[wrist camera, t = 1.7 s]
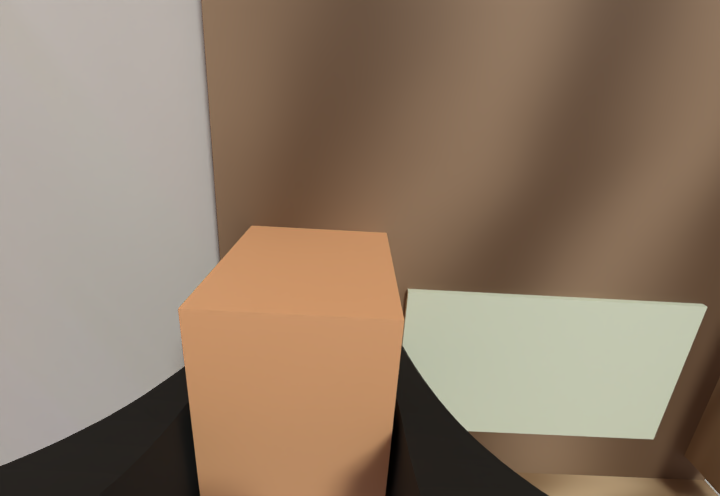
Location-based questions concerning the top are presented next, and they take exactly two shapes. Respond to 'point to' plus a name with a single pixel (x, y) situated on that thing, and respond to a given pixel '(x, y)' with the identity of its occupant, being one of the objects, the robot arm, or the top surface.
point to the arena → (497, 172)
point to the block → (294, 364)
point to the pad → (550, 360)
